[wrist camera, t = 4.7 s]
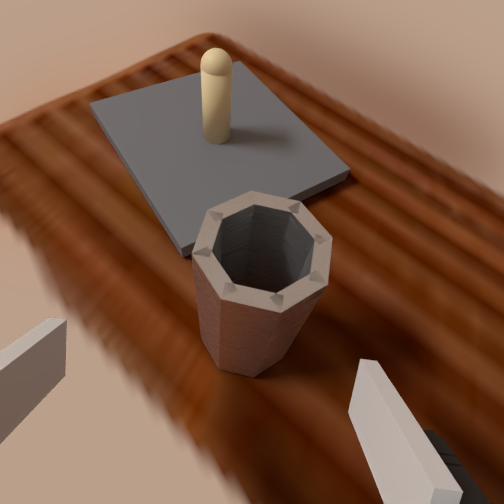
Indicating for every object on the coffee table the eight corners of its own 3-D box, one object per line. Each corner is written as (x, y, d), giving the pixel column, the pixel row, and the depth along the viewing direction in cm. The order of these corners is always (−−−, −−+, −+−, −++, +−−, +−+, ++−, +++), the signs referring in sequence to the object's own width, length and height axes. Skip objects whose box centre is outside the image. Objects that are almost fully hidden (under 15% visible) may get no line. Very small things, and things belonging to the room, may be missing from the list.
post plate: (345, 179, 35) (385, 90, 27) (182, 257, 29) (169, 172, 20) (239, 72, 43) (244, -22, 35) (93, 115, 37) (57, 12, 28)
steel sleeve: (301, 345, 26) (357, 266, 16) (232, 392, 24) (243, 335, 13) (256, 282, 28) (279, 177, 18) (189, 319, 26) (172, 224, 16)
